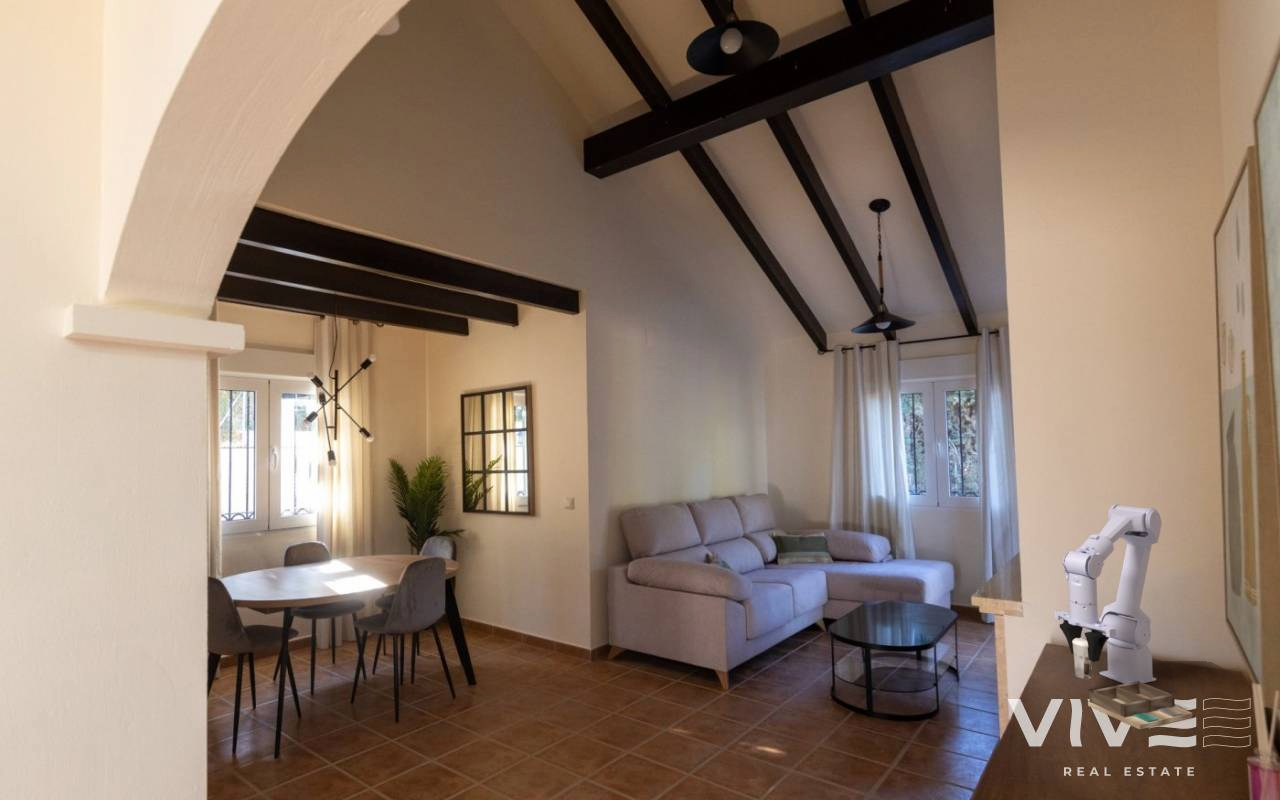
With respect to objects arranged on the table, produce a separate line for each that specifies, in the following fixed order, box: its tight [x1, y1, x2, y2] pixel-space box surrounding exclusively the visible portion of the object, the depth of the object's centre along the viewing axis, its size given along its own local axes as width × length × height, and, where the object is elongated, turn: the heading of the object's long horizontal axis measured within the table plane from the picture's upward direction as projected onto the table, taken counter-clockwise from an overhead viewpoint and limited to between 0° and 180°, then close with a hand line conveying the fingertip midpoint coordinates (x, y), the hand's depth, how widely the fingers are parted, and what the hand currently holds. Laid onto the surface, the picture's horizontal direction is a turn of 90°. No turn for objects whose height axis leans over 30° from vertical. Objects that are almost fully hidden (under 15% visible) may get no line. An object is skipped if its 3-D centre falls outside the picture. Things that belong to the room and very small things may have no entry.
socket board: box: [1087, 681, 1194, 730], centre depth 151 cm, size 16×12×4 cm
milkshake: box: [1072, 637, 1094, 680], centre depth 161 cm, size 4×5×10 cm
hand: (1085, 657), depth 161 cm, fingers closed on milkshake, 4 cm apart
